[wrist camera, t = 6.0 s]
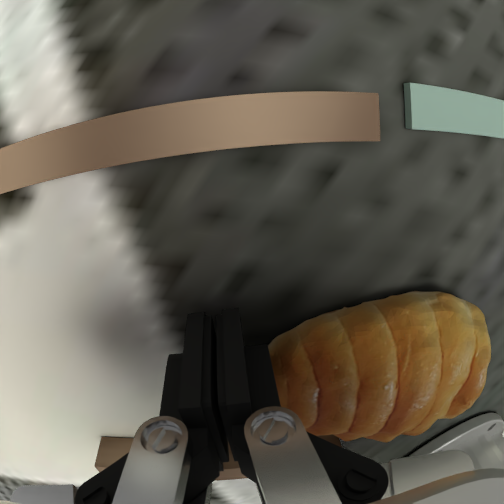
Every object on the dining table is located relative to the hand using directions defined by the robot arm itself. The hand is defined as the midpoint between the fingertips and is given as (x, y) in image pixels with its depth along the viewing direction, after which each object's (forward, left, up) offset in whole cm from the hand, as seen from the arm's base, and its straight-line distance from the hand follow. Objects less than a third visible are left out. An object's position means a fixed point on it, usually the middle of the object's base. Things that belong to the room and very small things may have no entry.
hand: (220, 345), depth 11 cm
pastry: (-6, +3, -1) cm, 7 cm away
